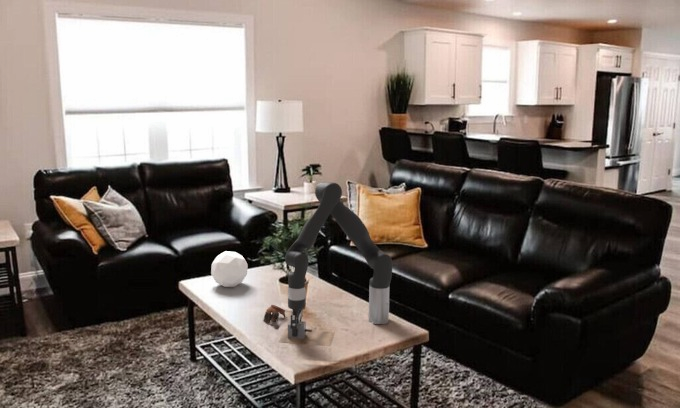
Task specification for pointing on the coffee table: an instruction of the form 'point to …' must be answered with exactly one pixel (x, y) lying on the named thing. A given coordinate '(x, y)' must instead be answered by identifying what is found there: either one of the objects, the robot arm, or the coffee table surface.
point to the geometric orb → (229, 269)
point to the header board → (310, 338)
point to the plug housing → (301, 330)
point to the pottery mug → (273, 314)
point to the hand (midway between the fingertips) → (296, 332)
